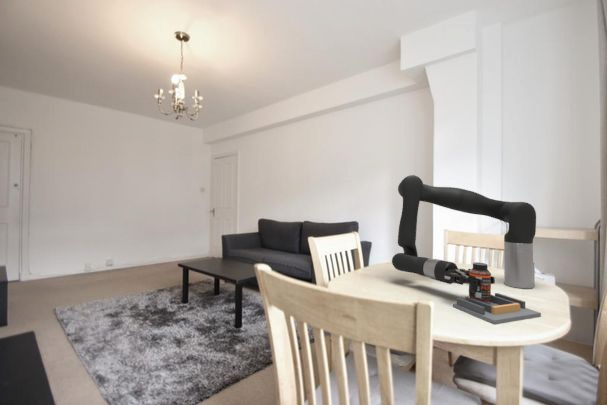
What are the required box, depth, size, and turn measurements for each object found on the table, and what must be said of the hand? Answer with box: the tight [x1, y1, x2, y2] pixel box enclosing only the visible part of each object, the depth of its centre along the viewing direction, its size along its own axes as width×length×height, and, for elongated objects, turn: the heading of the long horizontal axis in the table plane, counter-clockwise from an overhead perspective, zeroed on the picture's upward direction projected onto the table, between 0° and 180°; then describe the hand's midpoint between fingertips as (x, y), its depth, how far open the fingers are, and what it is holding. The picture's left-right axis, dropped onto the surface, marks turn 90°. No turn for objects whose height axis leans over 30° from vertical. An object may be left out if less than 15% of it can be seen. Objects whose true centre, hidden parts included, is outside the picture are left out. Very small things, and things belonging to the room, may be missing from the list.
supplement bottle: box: [468, 262, 492, 301], centre depth 92 cm, size 6×6×11 cm
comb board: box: [452, 292, 542, 325], centre depth 88 cm, size 18×14×3 cm
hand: (487, 281), depth 90 cm, fingers closed on supplement bottle, 6 cm apart
